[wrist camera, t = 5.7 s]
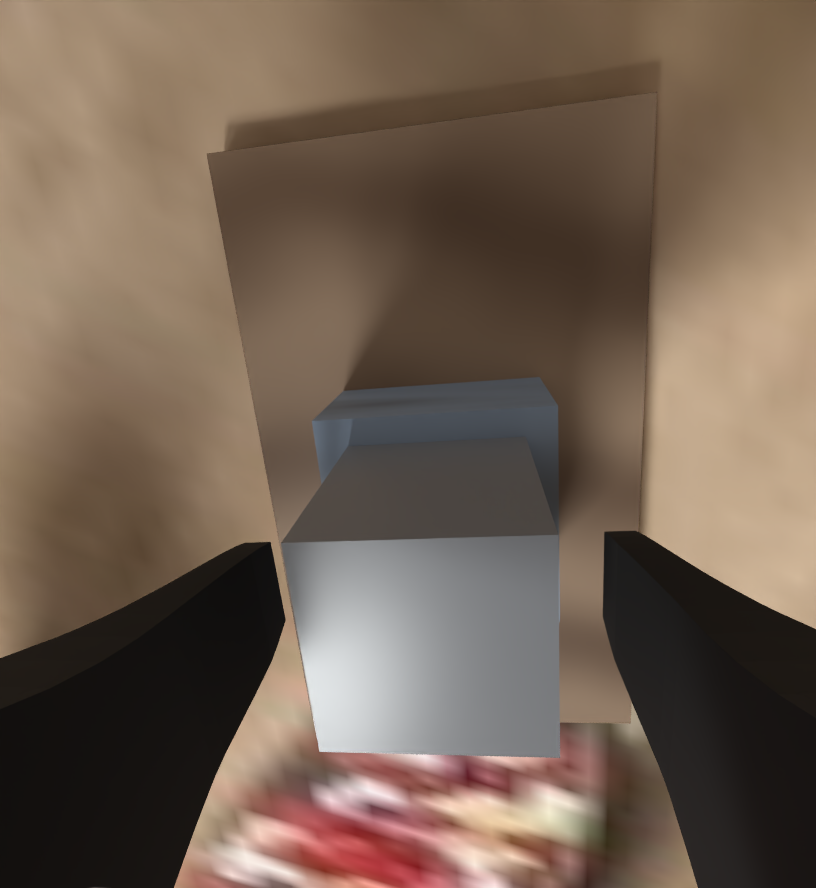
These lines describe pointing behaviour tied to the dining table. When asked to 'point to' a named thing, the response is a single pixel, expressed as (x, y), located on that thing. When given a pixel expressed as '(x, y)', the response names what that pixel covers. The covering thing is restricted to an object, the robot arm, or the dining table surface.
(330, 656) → the gray brick
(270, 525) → the dining table surface
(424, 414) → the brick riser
